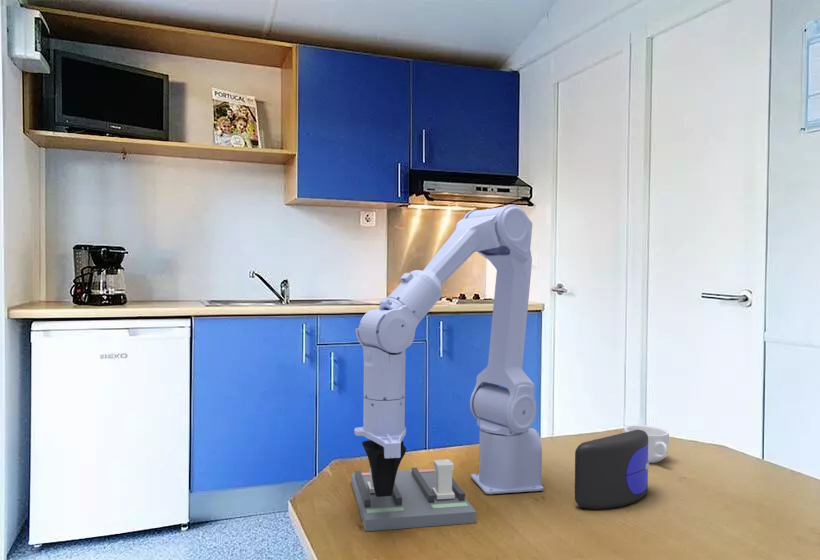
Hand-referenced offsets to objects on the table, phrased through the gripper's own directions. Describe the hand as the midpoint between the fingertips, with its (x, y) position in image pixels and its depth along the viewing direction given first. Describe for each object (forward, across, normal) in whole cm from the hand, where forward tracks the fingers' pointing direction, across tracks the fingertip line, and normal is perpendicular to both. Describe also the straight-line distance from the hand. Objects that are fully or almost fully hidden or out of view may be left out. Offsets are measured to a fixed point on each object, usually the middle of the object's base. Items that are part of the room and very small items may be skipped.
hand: (383, 494), depth 80 cm
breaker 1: (+1, -5, 0) cm, 6 cm away
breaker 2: (+1, -1, +9) cm, 9 cm away
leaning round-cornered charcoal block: (+3, -1, +35) cm, 35 cm away
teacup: (+3, -15, +52) cm, 54 cm away
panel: (+3, -4, +4) cm, 7 cm away
